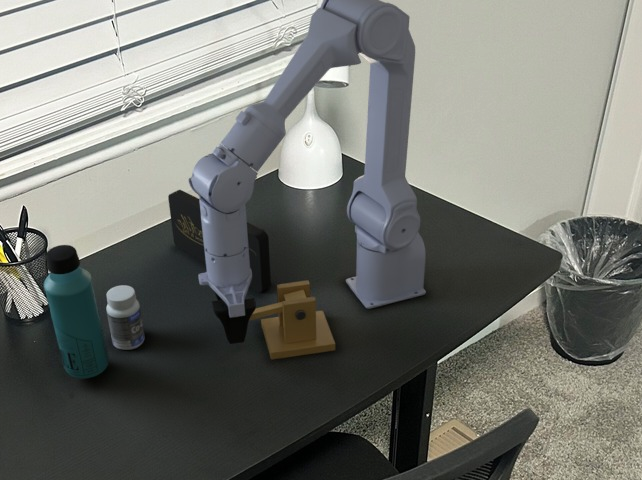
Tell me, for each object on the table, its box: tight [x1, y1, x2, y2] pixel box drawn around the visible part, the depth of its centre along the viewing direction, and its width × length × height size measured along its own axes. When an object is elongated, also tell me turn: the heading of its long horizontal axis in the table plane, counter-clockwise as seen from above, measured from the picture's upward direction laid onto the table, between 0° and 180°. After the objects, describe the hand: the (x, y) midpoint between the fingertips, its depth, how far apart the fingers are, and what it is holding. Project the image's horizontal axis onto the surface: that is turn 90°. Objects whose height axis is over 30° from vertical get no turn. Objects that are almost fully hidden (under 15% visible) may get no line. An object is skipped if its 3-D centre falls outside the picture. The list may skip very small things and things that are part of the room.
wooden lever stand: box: [260, 279, 336, 360], centre depth 127 cm, size 9×8×8 cm
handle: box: [249, 290, 306, 322], centre depth 126 cm, size 11×5×2 cm, turn 96°
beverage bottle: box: [43, 244, 110, 379], centre depth 121 cm, size 6×7×20 cm
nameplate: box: [167, 189, 272, 293], centre depth 142 cm, size 21×2×10 cm, turn 41°
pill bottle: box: [105, 284, 146, 351], centre depth 129 cm, size 5×5×8 cm
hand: (233, 329), depth 127 cm, fingers open, 5 cm apart
